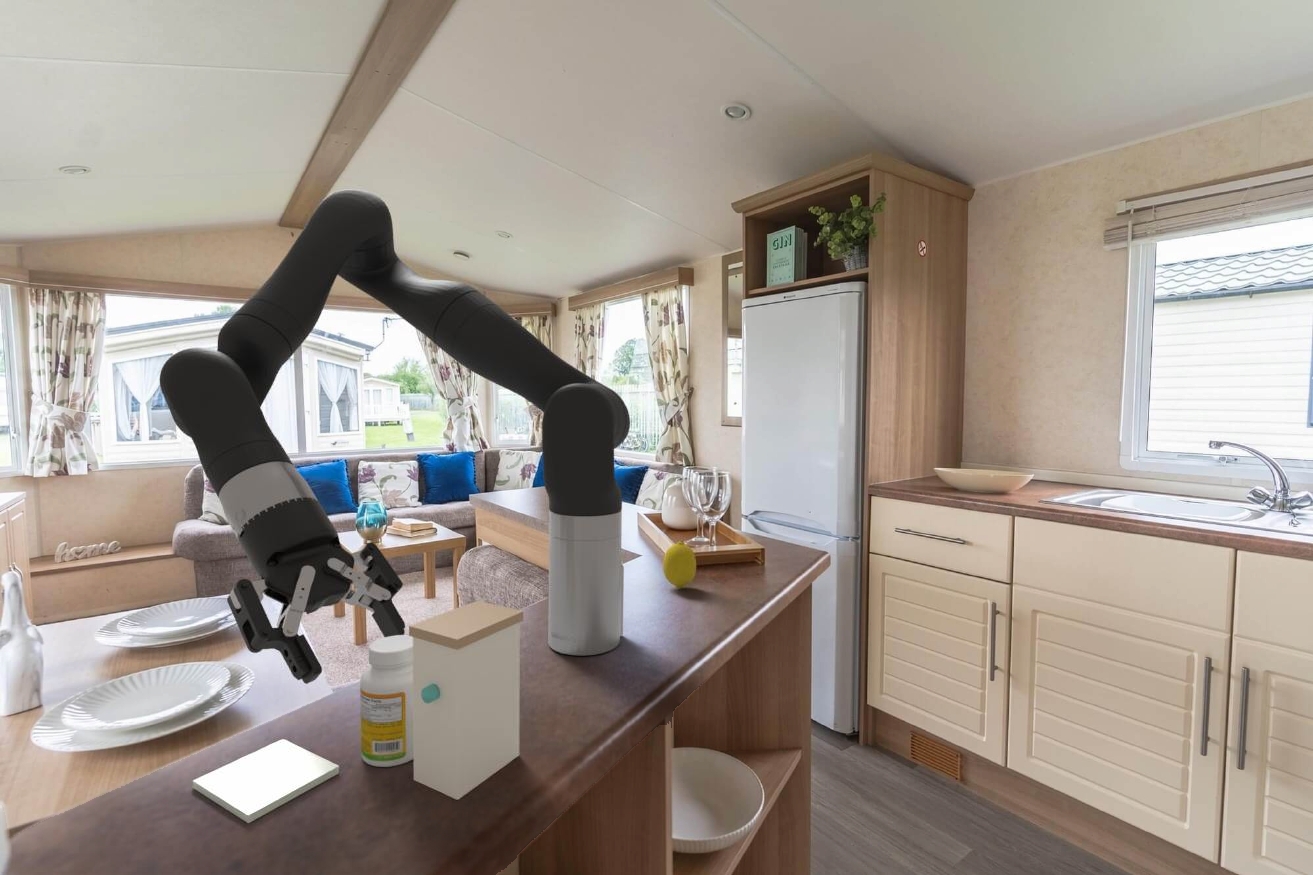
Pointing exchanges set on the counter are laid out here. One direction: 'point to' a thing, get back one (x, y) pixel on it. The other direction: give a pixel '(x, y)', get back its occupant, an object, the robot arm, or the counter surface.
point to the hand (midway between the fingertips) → (358, 657)
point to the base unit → (465, 696)
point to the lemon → (679, 565)
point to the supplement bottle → (388, 702)
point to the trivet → (265, 779)
